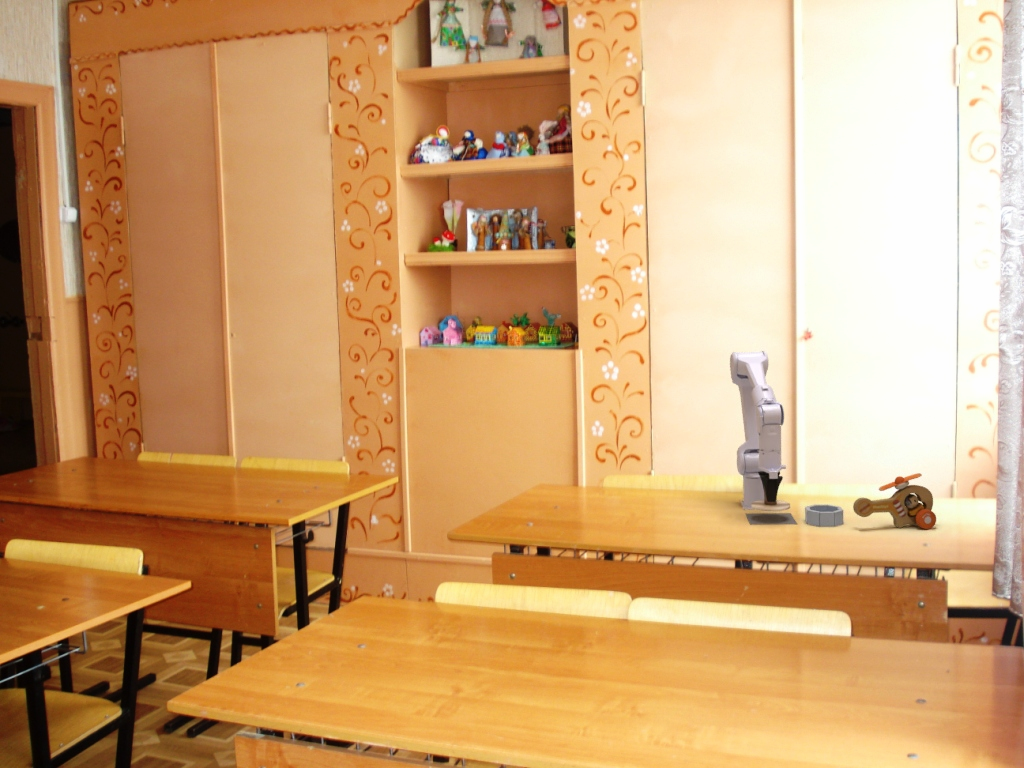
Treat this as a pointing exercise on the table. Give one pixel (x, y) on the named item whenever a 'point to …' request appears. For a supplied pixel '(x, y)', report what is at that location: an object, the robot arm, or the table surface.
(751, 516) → the mat
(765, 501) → the lid
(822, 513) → the bowl
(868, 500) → the toy helicopter
